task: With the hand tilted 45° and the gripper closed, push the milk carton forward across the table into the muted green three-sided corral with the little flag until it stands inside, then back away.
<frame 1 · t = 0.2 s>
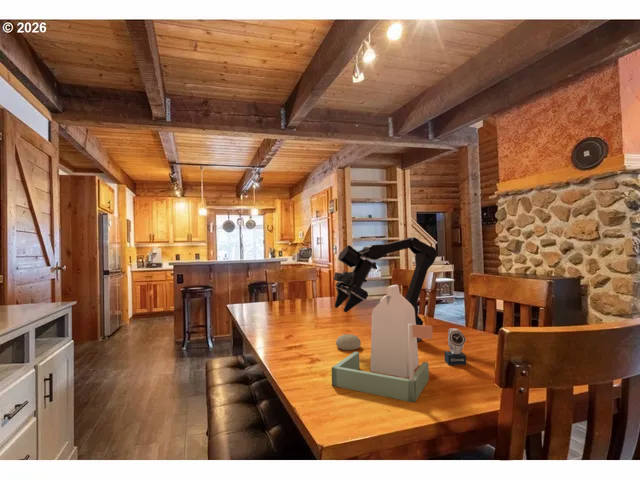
hand: (339, 309, 130), 15 cm above the table, tool tilted 35°, fingers open, 9 cm apart
sea urchin shell: (348, 348, 131), on the table
watch: (455, 363, 113), on the table
milk: (395, 368, 109), on the table
corral: (383, 380, 99), on the table
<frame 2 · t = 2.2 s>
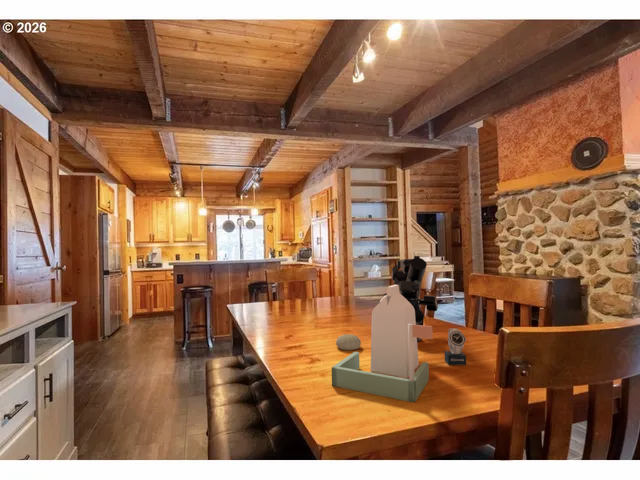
hand: (405, 321, 120), 12 cm above the table, tool tilted 45°, fingers closed
nothing on the table moved.
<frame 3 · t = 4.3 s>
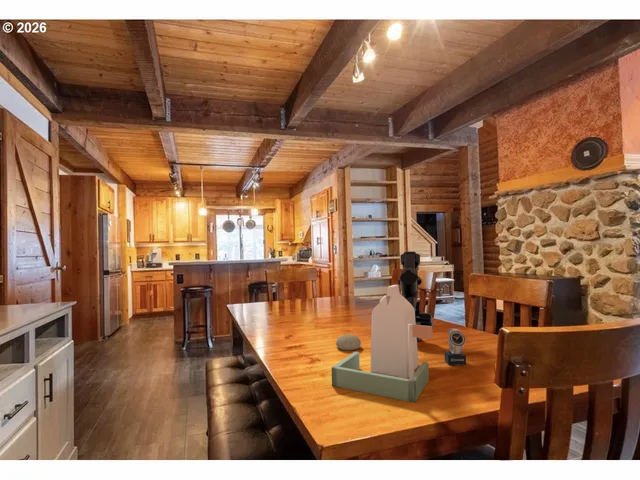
hand: (399, 340, 114), 7 cm above the table, tool tilted 45°, fingers closed, pressing on milk
milk: (395, 369, 109), on the table, touching gripper
everything else where it was.
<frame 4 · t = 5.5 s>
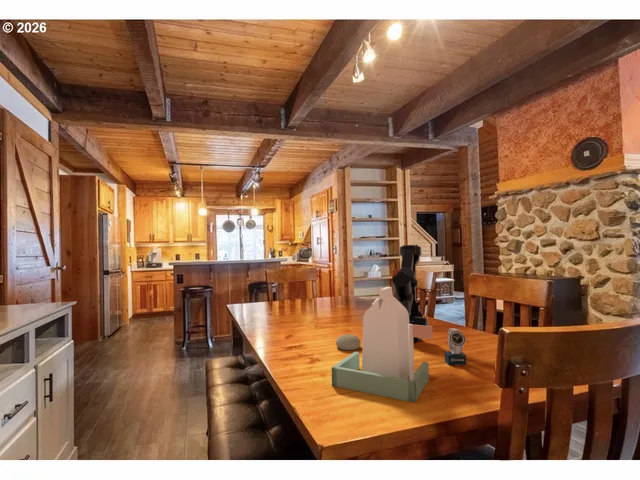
hand: (393, 346, 108), 7 cm above the table, tool tilted 45°, fingers closed, pressing on milk
milk: (387, 376, 103), on the table, touching gripper
everything else where it was.
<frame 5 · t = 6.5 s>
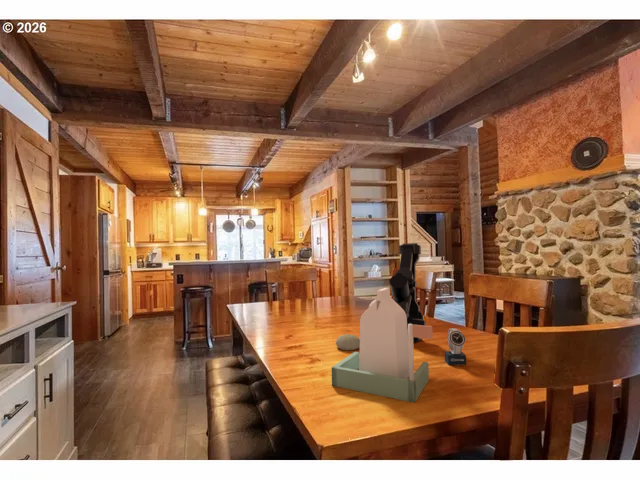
hand: (390, 348, 106), 7 cm above the table, tool tilted 45°, fingers closed
milk: (385, 378, 101), on the table, touching gripper
everything else where it was.
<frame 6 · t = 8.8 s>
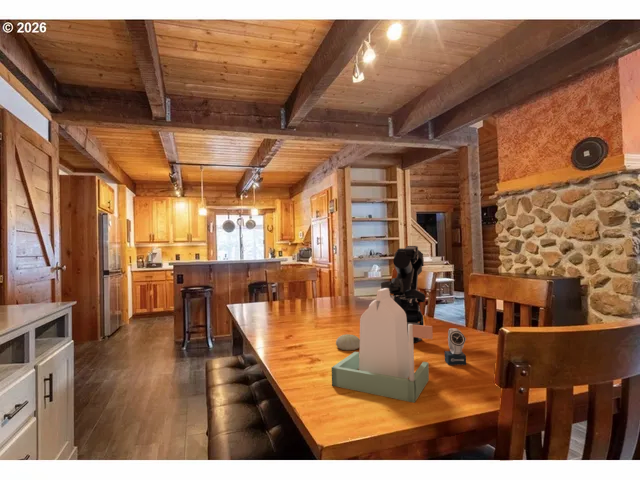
hand: (396, 320, 120), 12 cm above the table, tool tilted 30°, fingers closed
milk: (385, 379, 101), on the table
everything else where it was.
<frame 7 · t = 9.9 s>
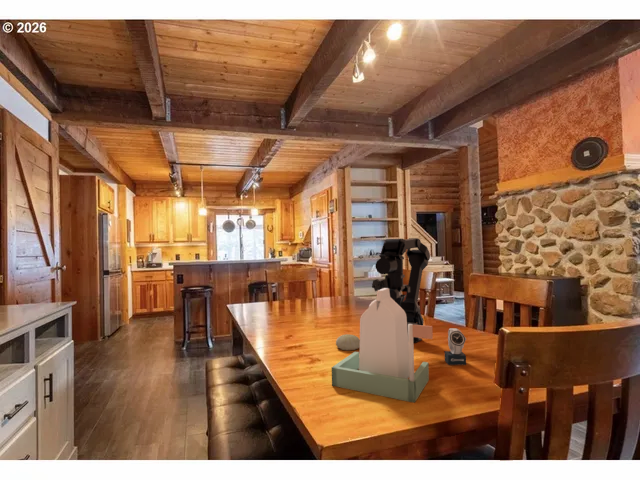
hand: (396, 314, 128), 13 cm above the table, tool pointing down, fingers closed
nothing on the table moved.
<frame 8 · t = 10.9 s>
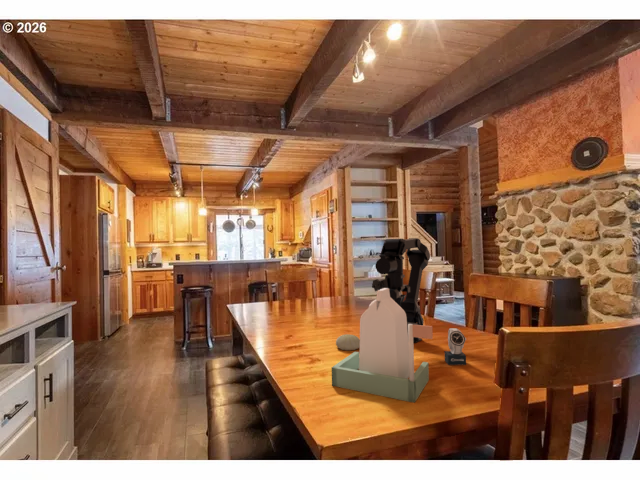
hand: (396, 314, 128), 13 cm above the table, tool pointing down, fingers closed
nothing on the table moved.
at the end: milk inside the target area on the corral (0.4 cm from its centre), point 0.0 cm above the corral's base; milk tilted 0° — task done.
